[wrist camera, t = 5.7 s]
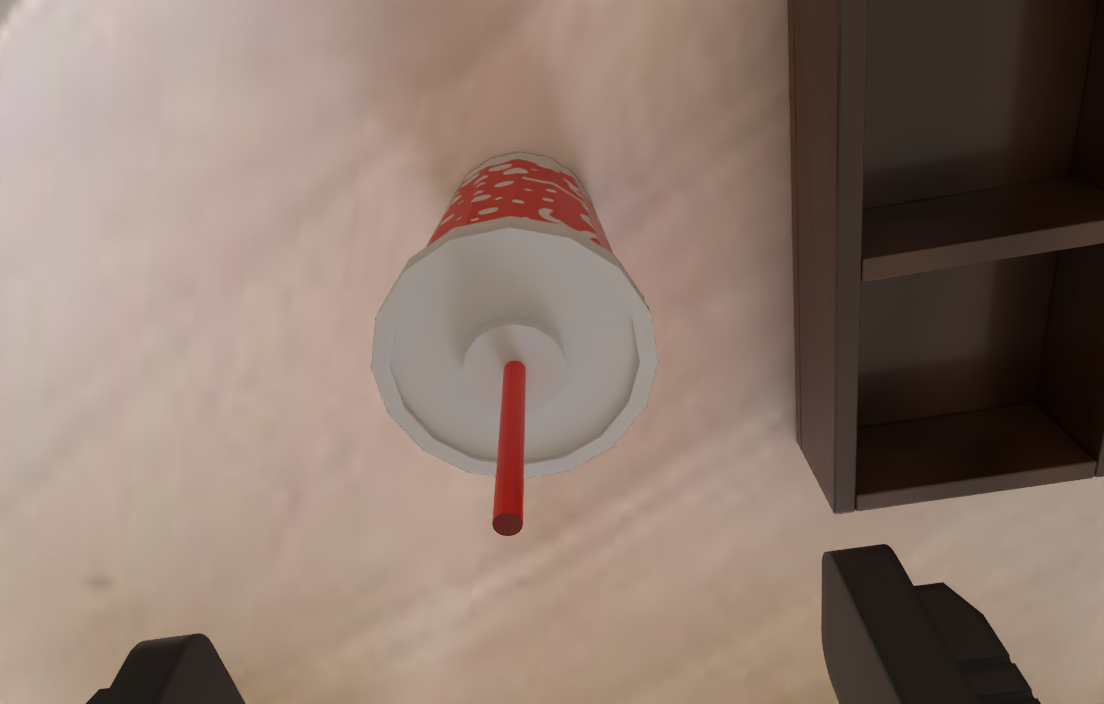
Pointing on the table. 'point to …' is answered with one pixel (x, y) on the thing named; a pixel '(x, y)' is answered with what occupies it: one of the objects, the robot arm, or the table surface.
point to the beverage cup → (515, 333)
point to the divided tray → (947, 245)
